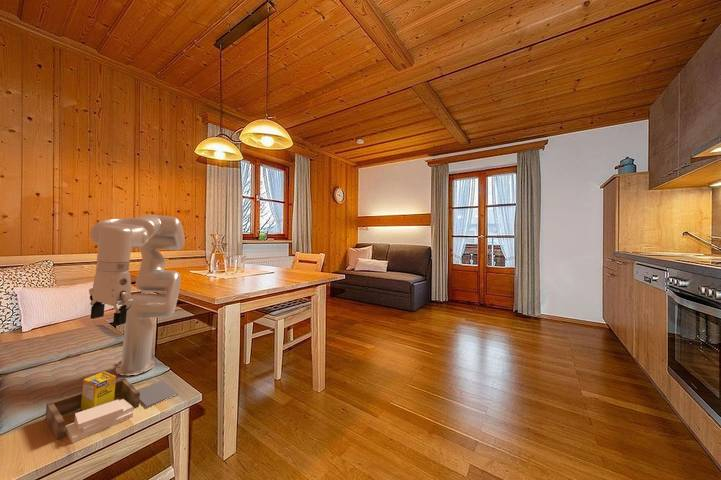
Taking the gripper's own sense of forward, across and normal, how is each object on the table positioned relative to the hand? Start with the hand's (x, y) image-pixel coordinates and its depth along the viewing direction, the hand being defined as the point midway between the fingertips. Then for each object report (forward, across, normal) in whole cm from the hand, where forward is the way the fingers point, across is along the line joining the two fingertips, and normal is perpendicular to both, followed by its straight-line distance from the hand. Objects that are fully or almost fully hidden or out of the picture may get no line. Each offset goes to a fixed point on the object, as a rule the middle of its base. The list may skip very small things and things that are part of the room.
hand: (108, 320), depth 85 cm
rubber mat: (+32, -2, -16) cm, 36 cm away
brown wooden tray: (+32, +4, -2) cm, 32 cm away
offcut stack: (+32, -2, 0) cm, 32 cm away
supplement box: (+32, +6, -3) cm, 33 cm away
